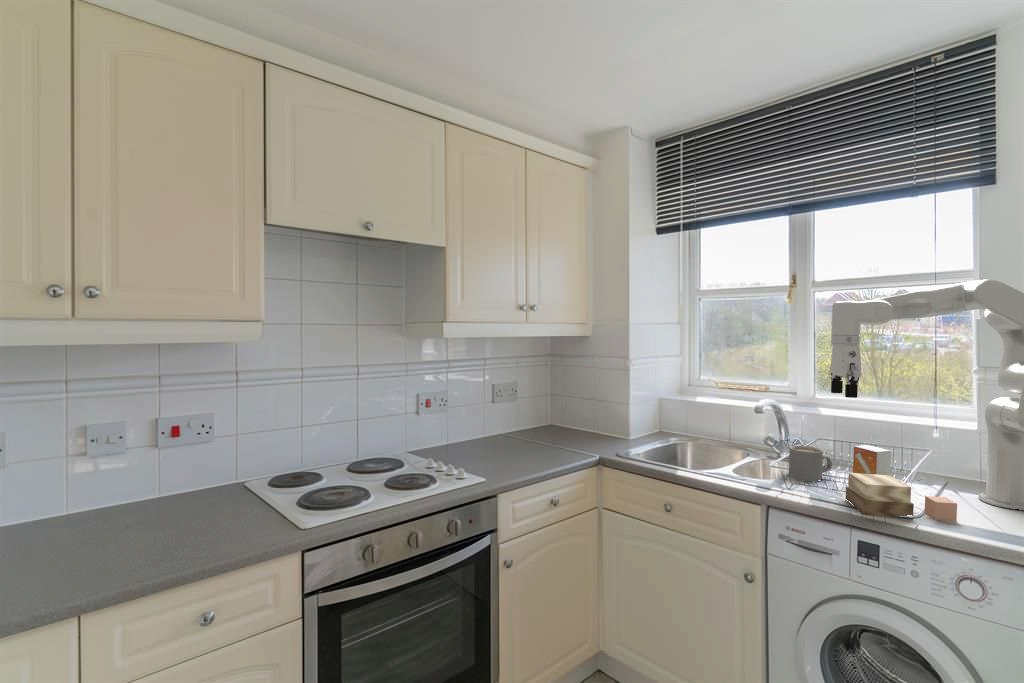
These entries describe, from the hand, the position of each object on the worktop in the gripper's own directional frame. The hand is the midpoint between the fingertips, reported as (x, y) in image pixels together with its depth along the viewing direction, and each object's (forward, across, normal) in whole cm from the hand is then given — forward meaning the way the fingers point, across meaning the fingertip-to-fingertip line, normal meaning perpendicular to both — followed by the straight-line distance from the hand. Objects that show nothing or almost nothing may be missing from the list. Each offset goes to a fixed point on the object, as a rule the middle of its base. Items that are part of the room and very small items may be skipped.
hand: (843, 395), depth 159 cm
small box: (+31, +7, -12) cm, 34 cm away
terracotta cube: (+31, -17, -18) cm, 40 cm away
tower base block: (+31, -14, -4) cm, 34 cm away
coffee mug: (+31, +14, +3) cm, 34 cm away
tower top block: (+27, -14, -4) cm, 30 cm away
